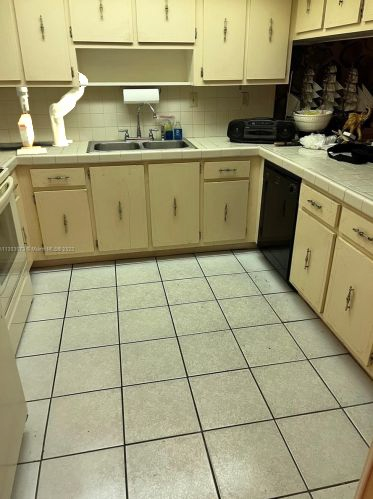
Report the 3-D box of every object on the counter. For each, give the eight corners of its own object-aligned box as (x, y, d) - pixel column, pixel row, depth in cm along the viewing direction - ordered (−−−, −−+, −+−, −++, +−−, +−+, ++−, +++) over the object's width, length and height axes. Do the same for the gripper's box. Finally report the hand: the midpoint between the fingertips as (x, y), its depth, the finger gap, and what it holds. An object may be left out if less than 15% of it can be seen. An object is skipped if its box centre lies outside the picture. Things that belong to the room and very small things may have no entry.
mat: (45, 148, 284) (45, 146, 284) (47, 153, 263) (46, 151, 263) (17, 149, 277) (17, 147, 277) (16, 155, 257) (16, 153, 256)
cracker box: (31, 149, 281) (26, 124, 265) (23, 148, 281) (17, 123, 265) (35, 138, 290) (30, 114, 274) (27, 137, 289) (21, 113, 274)
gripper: (28, 94, 266) (31, 121, 274) (28, 94, 279) (31, 119, 287) (16, 94, 264) (20, 121, 271) (17, 93, 277) (21, 119, 284)
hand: (26, 120), depth 279 cm, fingers closed
